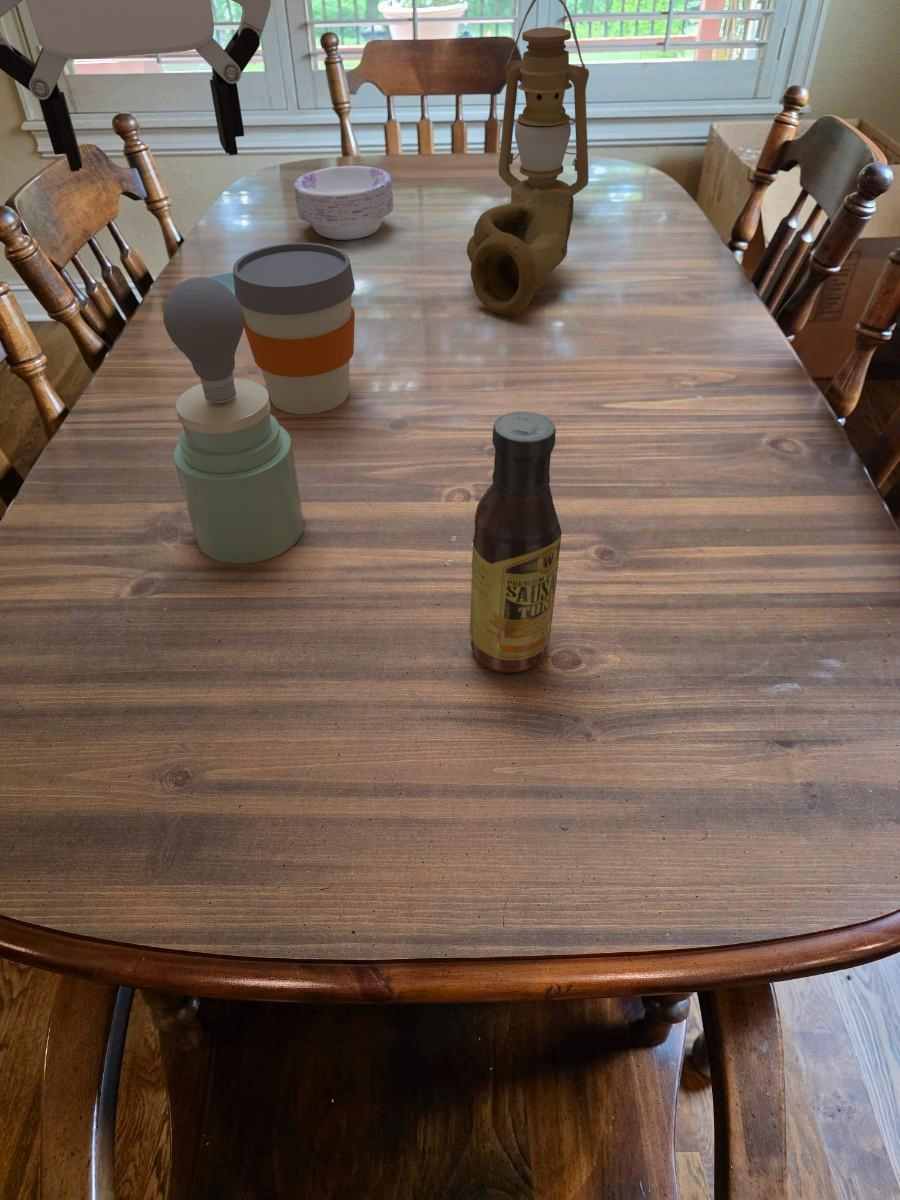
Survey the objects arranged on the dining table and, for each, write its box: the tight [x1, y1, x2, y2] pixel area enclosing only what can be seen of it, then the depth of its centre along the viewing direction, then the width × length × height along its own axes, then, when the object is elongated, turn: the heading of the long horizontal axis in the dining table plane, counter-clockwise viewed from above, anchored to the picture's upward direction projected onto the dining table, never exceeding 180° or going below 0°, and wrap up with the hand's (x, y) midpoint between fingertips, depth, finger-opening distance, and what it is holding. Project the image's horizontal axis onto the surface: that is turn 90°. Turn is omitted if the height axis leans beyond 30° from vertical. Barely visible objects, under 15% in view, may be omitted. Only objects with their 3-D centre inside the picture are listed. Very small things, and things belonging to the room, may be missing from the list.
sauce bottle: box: [469, 411, 563, 674], centre depth 62 cm, size 6×6×20 cm
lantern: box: [498, 0, 590, 204], centre depth 135 cm, size 15×10×30 cm
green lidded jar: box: [173, 377, 305, 565], centre depth 76 cm, size 10×10×14 cm
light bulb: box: [162, 276, 244, 403], centre depth 68 cm, size 6×6×10 cm
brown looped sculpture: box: [466, 188, 574, 317], centre depth 119 cm, size 18×13×22 cm
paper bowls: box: [293, 165, 394, 241], centre depth 137 cm, size 15×15×8 cm
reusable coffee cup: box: [232, 242, 356, 415], centre depth 95 cm, size 13×13×15 cm
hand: (154, 157), depth 56 cm, fingers open, 9 cm apart
